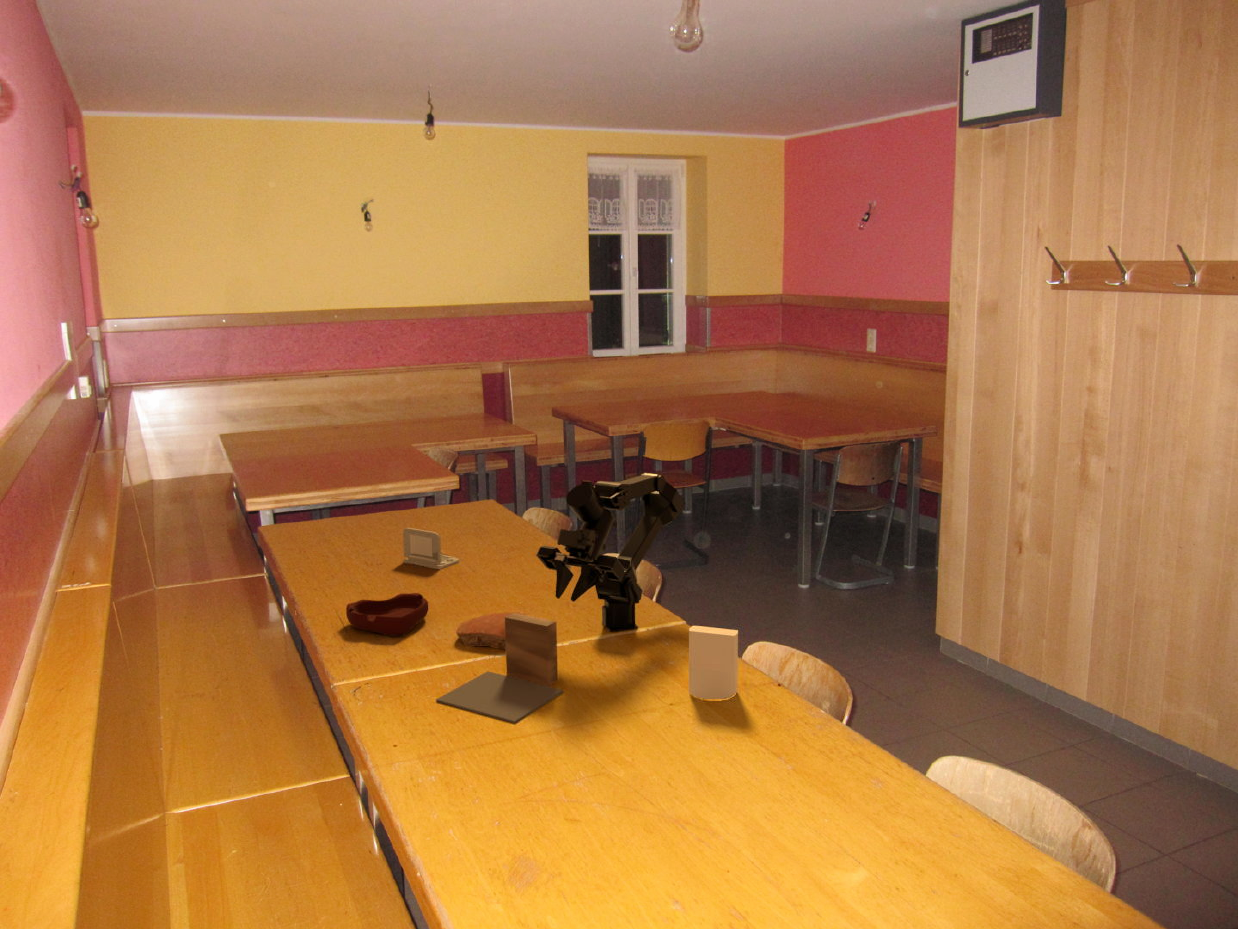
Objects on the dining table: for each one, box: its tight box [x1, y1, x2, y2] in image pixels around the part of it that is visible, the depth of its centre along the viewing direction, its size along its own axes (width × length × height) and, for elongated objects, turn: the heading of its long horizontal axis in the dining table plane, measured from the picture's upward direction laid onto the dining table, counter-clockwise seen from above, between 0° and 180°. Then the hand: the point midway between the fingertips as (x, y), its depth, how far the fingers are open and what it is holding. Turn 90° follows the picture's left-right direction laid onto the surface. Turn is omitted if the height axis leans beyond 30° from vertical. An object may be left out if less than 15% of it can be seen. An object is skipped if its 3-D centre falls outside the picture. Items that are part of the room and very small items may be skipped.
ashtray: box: [345, 592, 429, 637], centre depth 217 cm, size 18×16×5 cm
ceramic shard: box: [456, 612, 526, 651], centre depth 210 cm, size 15×6×15 cm
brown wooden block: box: [505, 612, 559, 687], centre depth 187 cm, size 3×10×12 cm, turn 59°
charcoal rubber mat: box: [435, 670, 564, 724], centre depth 180 cm, size 15×18×1 cm
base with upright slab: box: [688, 625, 739, 700], centre depth 180 cm, size 9×9×12 cm
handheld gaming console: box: [402, 527, 460, 570], centre depth 266 cm, size 13×9×10 cm
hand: (564, 599), depth 195 cm, fingers open, 3 cm apart
